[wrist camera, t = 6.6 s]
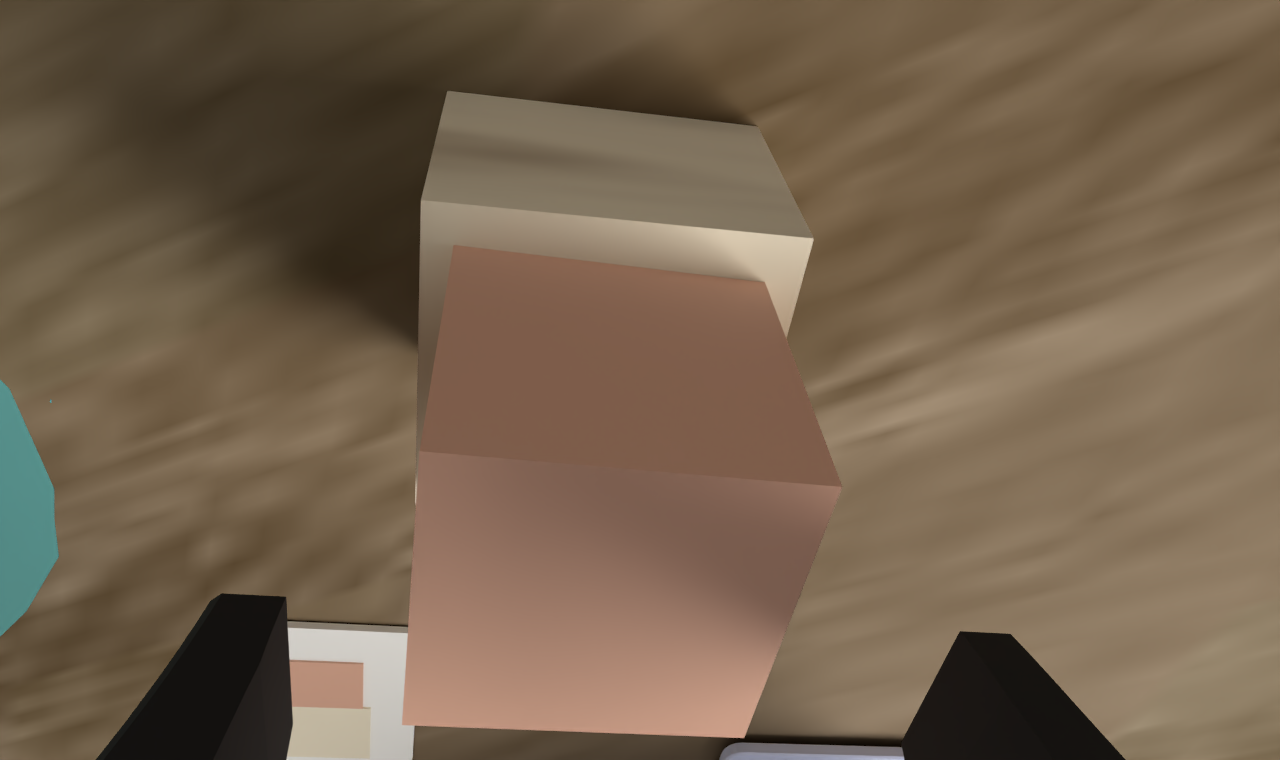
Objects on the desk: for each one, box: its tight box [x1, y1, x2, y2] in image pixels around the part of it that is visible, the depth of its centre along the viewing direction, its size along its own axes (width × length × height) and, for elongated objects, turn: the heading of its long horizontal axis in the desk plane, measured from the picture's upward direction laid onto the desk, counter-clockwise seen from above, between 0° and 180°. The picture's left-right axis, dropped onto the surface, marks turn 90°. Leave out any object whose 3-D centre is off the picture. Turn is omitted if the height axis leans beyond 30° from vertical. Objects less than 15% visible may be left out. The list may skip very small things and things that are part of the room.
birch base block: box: [415, 91, 814, 504], centre depth 17 cm, size 6×6×4 cm
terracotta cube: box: [402, 245, 842, 738], centre depth 13 cm, size 4×4×4 cm
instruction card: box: [286, 621, 415, 760], centre depth 25 cm, size 6×4×1 cm
